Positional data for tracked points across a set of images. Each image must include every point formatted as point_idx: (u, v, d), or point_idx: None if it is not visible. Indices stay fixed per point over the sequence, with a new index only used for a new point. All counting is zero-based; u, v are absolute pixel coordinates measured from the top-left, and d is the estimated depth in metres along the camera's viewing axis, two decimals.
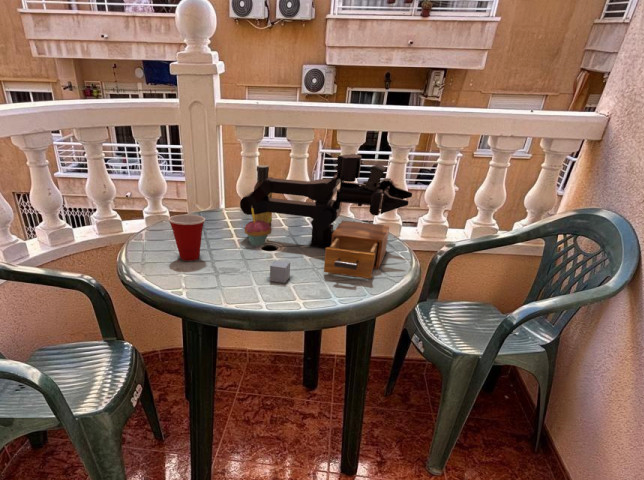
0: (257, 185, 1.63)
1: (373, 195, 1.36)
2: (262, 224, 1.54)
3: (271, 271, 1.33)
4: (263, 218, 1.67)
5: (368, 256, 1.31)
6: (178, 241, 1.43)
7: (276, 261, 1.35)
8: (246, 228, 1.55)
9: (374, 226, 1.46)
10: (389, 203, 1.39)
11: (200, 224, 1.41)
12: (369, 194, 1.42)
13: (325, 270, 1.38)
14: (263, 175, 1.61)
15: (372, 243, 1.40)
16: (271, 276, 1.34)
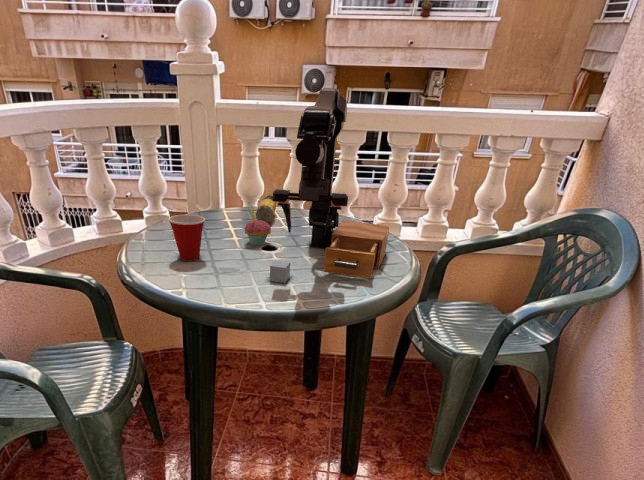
0: None
1: (273, 192, 1.21)
2: (262, 224, 1.54)
3: (271, 271, 1.33)
4: (267, 204, 1.74)
5: (368, 256, 1.31)
6: (178, 241, 1.43)
7: (276, 261, 1.35)
8: (246, 228, 1.55)
9: (374, 226, 1.46)
10: None
11: (200, 224, 1.41)
12: None
13: (325, 270, 1.38)
14: (270, 197, 1.85)
15: (372, 243, 1.40)
16: (271, 276, 1.34)
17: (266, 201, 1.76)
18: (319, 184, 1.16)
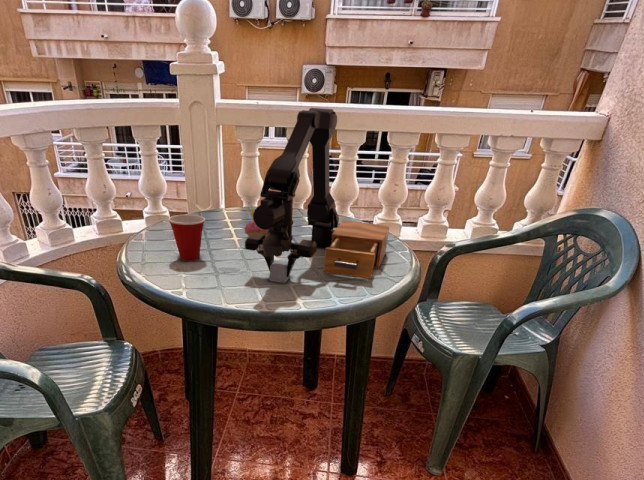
0: None
1: None
2: None
3: (271, 271, 1.33)
4: None
5: (368, 256, 1.31)
6: (178, 241, 1.43)
7: (276, 261, 1.35)
8: (246, 228, 1.55)
9: (374, 226, 1.46)
10: None
11: (200, 224, 1.41)
12: None
13: (325, 270, 1.38)
14: None
15: (372, 243, 1.40)
16: (271, 276, 1.34)
17: None
18: (280, 241, 1.23)
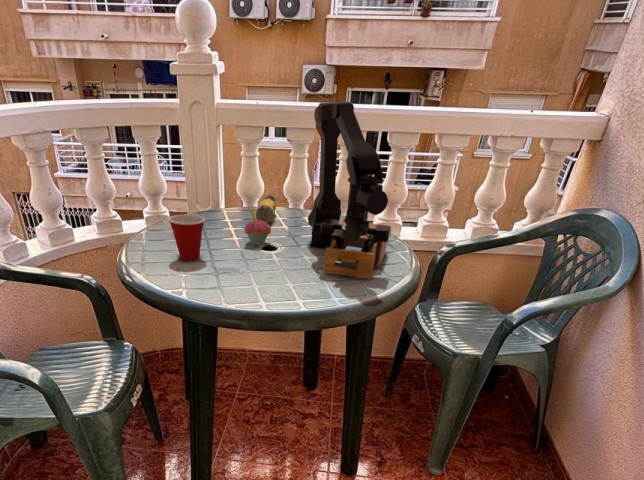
0: None
1: (321, 225, 1.34)
2: (262, 224, 1.54)
3: None
4: (267, 204, 1.74)
5: (368, 256, 1.31)
6: (178, 241, 1.43)
7: (348, 247, 1.38)
8: (246, 228, 1.55)
9: (374, 226, 1.46)
10: None
11: (200, 224, 1.41)
12: None
13: (325, 270, 1.38)
14: (270, 197, 1.85)
15: (372, 243, 1.40)
16: None
17: (266, 201, 1.76)
18: (360, 225, 1.26)
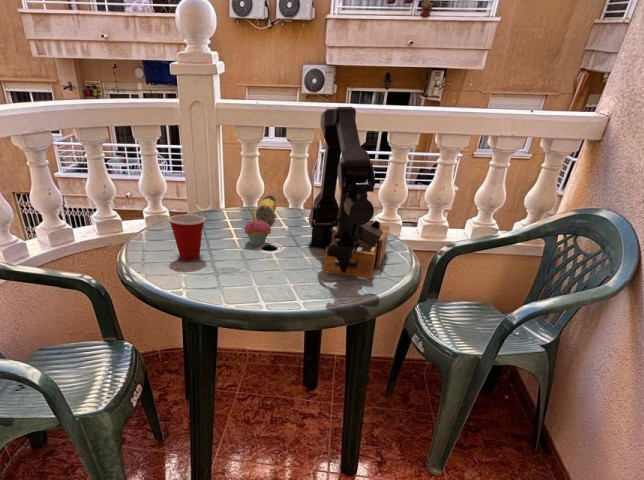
0: None
1: (348, 250, 1.17)
2: (262, 224, 1.54)
3: None
4: (267, 204, 1.74)
5: (369, 256, 1.31)
6: (178, 241, 1.43)
7: None
8: (246, 228, 1.55)
9: None
10: None
11: (200, 224, 1.41)
12: (349, 232, 1.21)
13: (325, 270, 1.38)
14: (270, 197, 1.85)
15: None
16: None
17: (266, 201, 1.76)
18: (375, 227, 1.23)
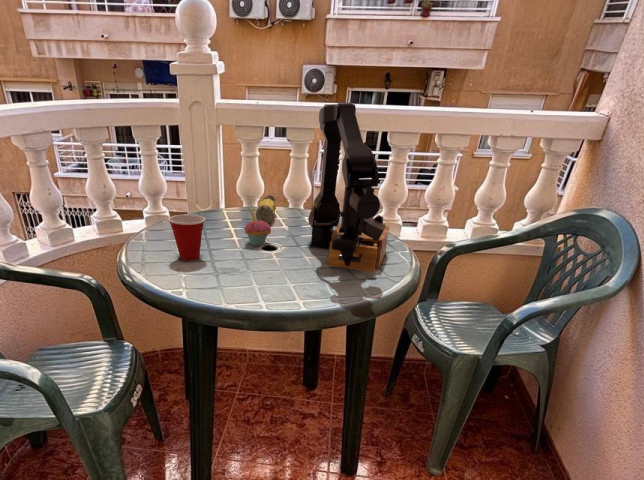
0: None
1: (352, 243, 1.21)
2: (262, 224, 1.54)
3: None
4: (267, 204, 1.74)
5: (372, 250, 1.35)
6: (178, 241, 1.43)
7: None
8: (246, 228, 1.55)
9: None
10: None
11: (200, 224, 1.41)
12: (353, 226, 1.25)
13: (329, 264, 1.41)
14: (270, 197, 1.85)
15: None
16: None
17: (266, 201, 1.76)
18: (378, 221, 1.27)
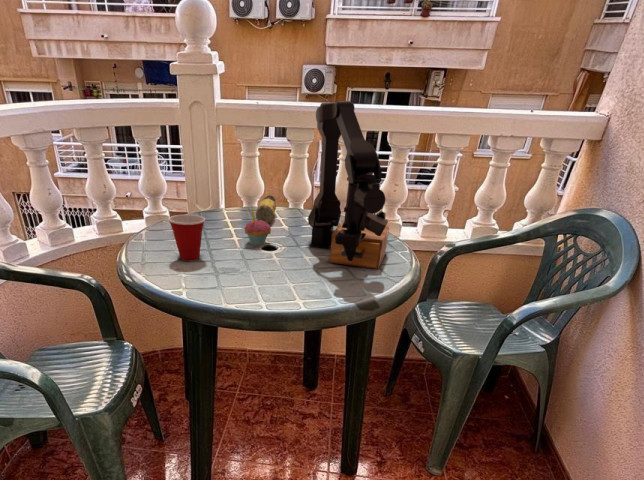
0: None
1: (355, 237, 1.24)
2: (262, 224, 1.54)
3: None
4: (267, 204, 1.74)
5: (374, 246, 1.37)
6: (178, 241, 1.43)
7: None
8: (246, 228, 1.55)
9: None
10: None
11: (200, 224, 1.41)
12: (356, 221, 1.28)
13: (332, 259, 1.44)
14: (270, 197, 1.85)
15: None
16: None
17: (266, 201, 1.76)
18: (381, 217, 1.30)
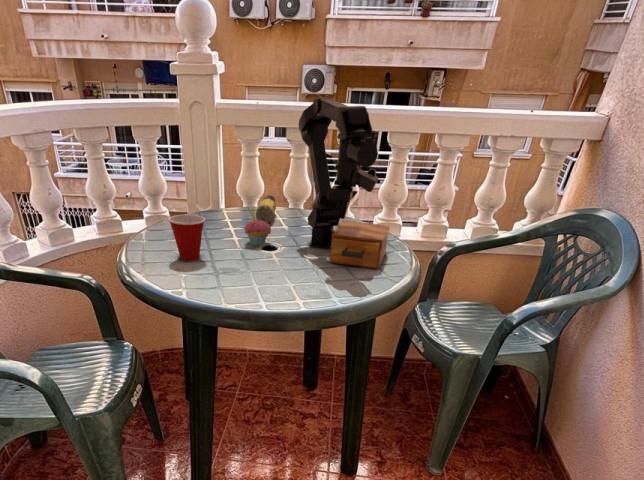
0: None
1: (347, 192, 1.28)
2: (262, 224, 1.54)
3: None
4: (267, 204, 1.74)
5: (374, 246, 1.37)
6: (178, 241, 1.43)
7: None
8: (246, 228, 1.55)
9: (374, 226, 1.46)
10: (342, 201, 1.37)
11: (200, 224, 1.41)
12: (347, 178, 1.32)
13: (332, 259, 1.44)
14: (270, 197, 1.85)
15: None
16: None
17: (266, 201, 1.76)
18: (371, 174, 1.34)
